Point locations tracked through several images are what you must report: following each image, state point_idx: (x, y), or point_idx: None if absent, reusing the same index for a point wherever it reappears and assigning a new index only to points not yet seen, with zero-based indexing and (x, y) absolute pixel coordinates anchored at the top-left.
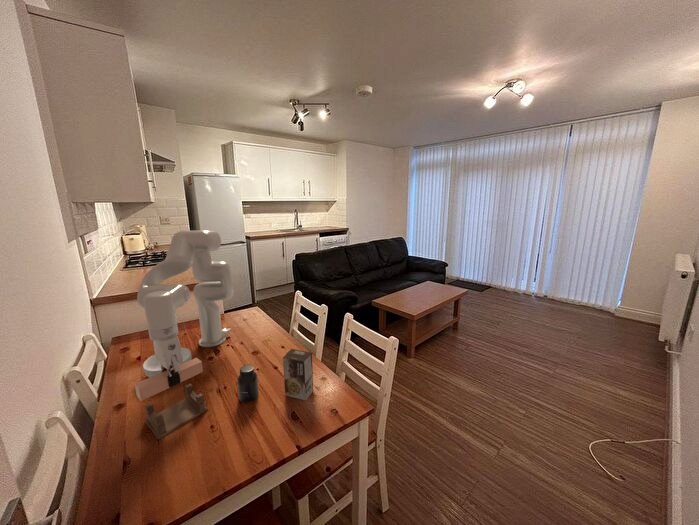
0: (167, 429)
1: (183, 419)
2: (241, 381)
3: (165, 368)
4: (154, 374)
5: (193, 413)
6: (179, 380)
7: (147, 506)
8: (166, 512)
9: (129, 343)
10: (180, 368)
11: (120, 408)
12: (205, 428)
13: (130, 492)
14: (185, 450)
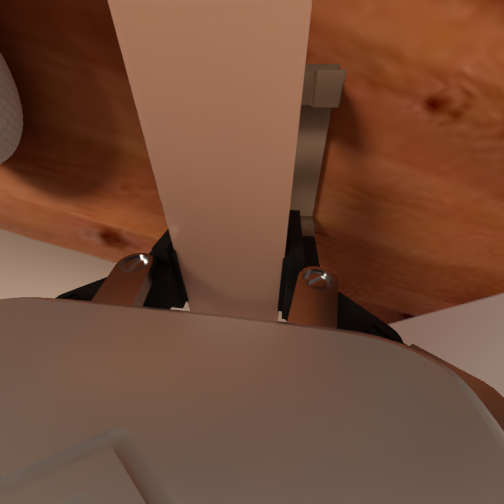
0: (305, 211)
1: (308, 164)
2: None
3: (173, 299)
4: (1, 155)
5: (312, 125)
6: (299, 221)
7: (446, 295)
8: (500, 286)
9: None
10: (240, 218)
11: (122, 239)
12: (413, 128)
13: (386, 298)
14: (416, 208)
